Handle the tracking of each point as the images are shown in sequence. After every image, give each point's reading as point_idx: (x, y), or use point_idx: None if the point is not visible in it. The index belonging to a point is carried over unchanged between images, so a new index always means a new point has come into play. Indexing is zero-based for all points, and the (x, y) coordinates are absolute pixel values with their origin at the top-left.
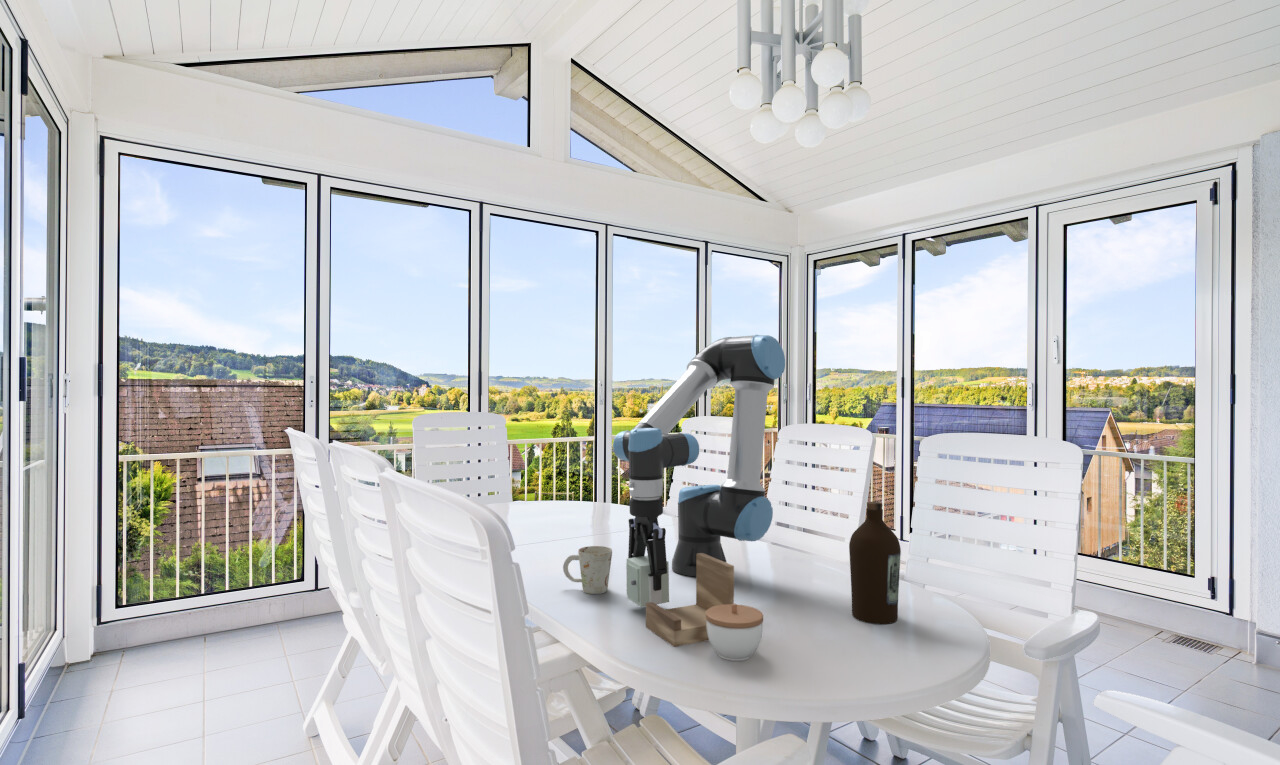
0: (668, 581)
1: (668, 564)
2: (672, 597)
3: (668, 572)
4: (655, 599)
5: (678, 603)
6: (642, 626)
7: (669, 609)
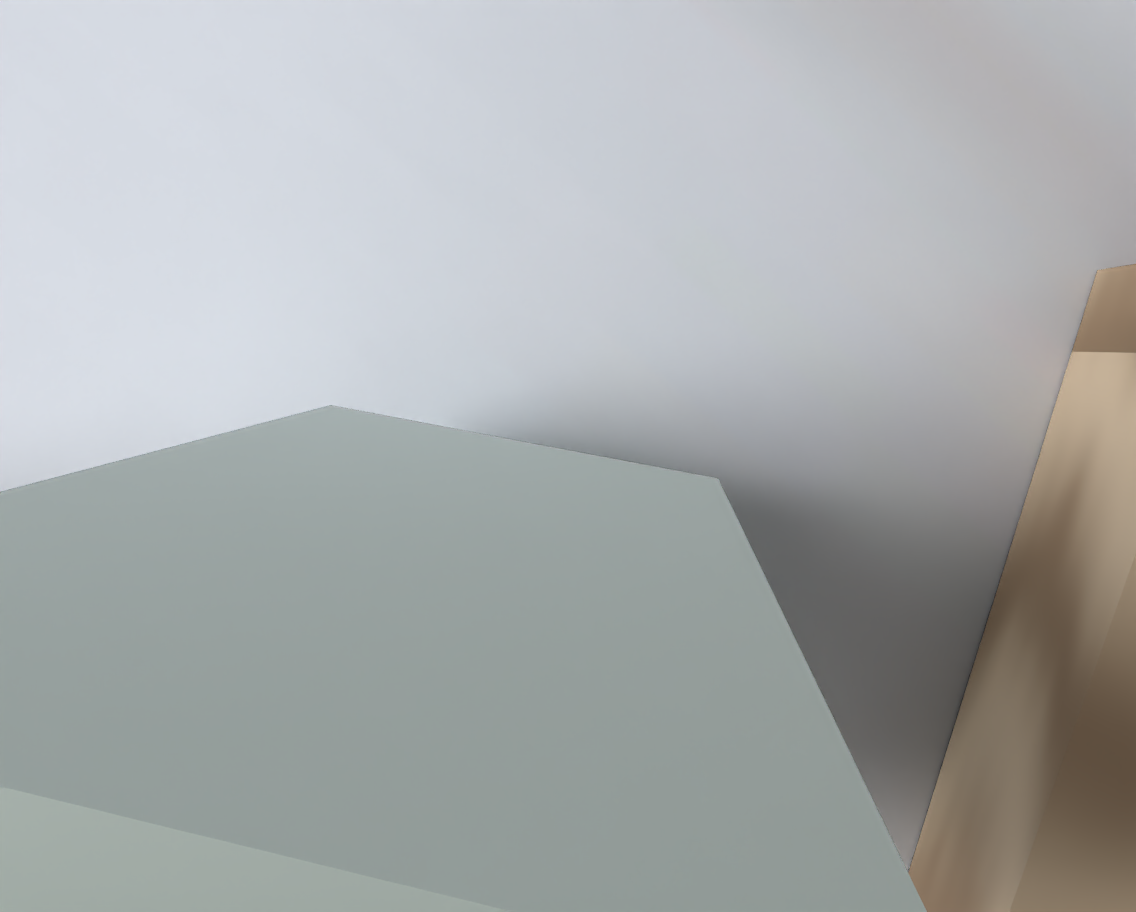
0: (769, 592)
1: (907, 885)
2: (322, 86)
3: (811, 686)
4: None
5: (535, 171)
6: None
7: (1083, 780)
